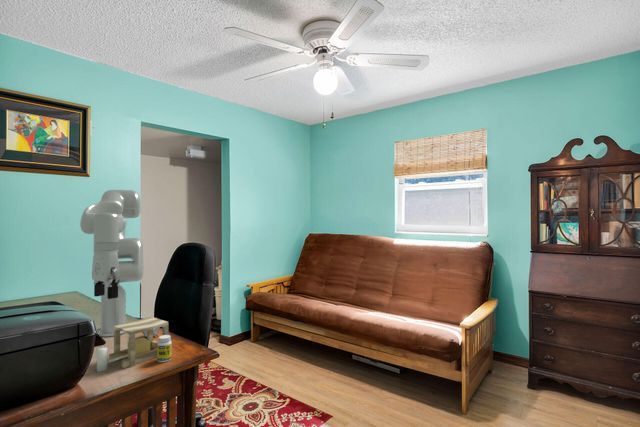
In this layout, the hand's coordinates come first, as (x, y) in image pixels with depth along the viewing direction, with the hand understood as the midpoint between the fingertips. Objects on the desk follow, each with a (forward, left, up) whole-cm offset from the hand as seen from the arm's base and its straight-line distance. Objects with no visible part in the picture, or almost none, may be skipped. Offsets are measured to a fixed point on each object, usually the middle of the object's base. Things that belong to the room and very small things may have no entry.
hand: (105, 297), depth 120 cm
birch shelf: (+2, +11, -24) cm, 27 cm away
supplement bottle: (+12, +14, -24) cm, 31 cm away
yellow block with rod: (+2, +5, -24) cm, 25 cm away
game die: (-15, +24, -24) cm, 37 cm away
